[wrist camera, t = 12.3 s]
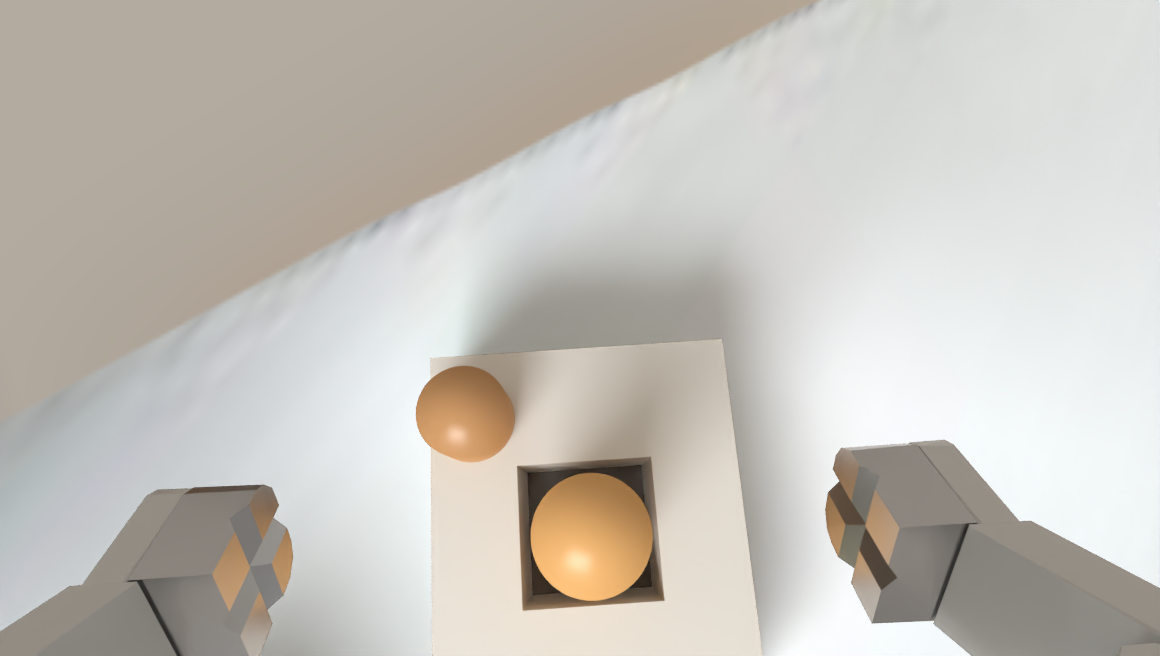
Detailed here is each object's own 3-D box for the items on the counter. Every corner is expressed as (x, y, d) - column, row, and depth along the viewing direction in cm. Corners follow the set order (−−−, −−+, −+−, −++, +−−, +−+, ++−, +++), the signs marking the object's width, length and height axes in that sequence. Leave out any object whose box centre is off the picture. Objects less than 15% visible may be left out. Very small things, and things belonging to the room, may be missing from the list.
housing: (458, 716, 23) (415, 784, 17) (453, 380, 26) (416, 343, 21) (741, 696, 23) (792, 756, 18) (702, 364, 26) (734, 322, 21)
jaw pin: (552, 572, 24) (533, 604, 16) (547, 489, 25) (527, 476, 17) (633, 566, 24) (658, 596, 16) (625, 483, 25) (647, 468, 17)
